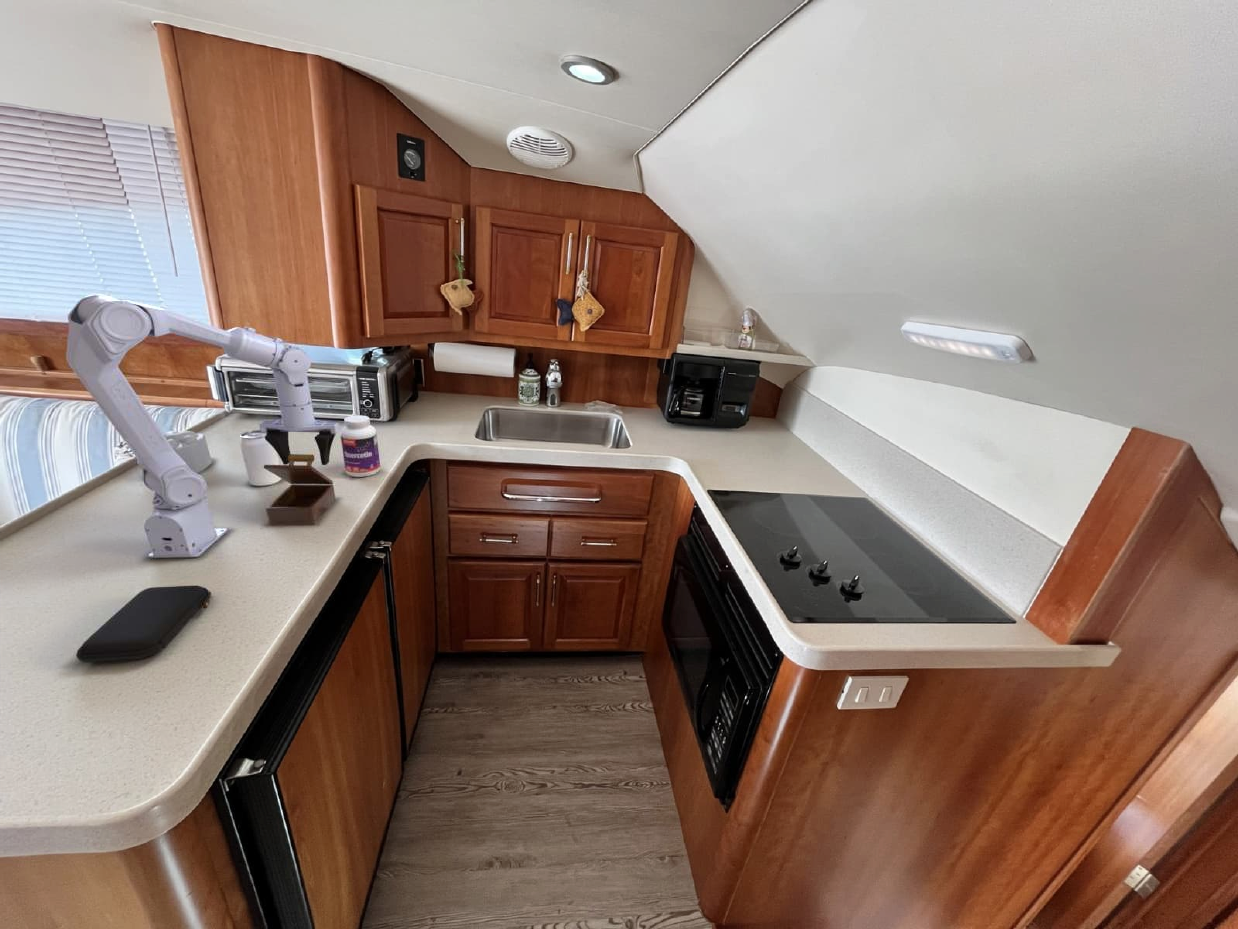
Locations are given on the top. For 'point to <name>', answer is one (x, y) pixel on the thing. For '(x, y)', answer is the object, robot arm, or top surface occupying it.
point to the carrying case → (144, 624)
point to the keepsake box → (301, 504)
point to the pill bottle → (360, 447)
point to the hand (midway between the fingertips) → (306, 463)
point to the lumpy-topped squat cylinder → (190, 449)
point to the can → (258, 458)
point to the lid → (299, 471)
